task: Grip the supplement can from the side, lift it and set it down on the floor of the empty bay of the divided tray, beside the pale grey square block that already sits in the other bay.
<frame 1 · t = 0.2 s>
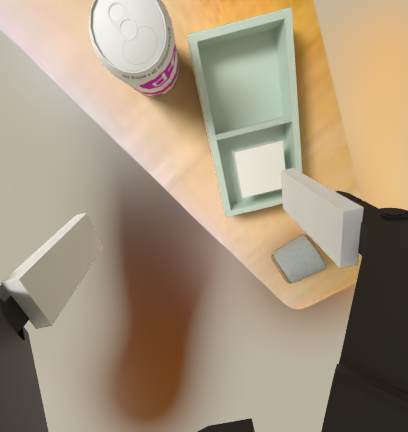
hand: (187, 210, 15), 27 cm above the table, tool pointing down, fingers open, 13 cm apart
divided tray: (247, 127, 39), on the table
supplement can: (152, 67, 35), on the table
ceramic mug: (292, 253, 50), on the table
pale grey square block: (253, 165, 41), point 1 cm above the table, touching divided tray
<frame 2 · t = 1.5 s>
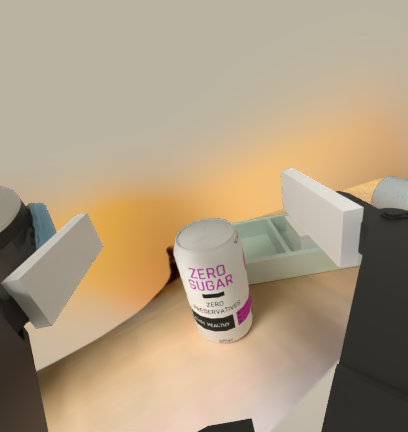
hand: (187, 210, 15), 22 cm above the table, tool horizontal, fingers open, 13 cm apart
divided tray: (278, 252, 44), on the table
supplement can: (224, 321, 33), on the table
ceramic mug: (402, 213, 48), on the table
pale grey square block: (312, 243, 43), point 1 cm above the table, touching divided tray
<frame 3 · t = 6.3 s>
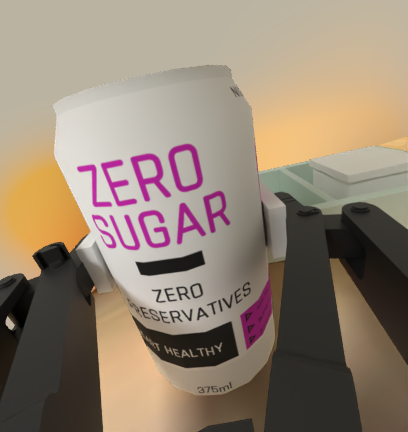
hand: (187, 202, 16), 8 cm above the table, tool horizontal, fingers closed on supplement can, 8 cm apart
divided tray: (302, 217, 27), on the table
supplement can: (214, 335, 16), on the table, touching gripper
pale grey square block: (357, 199, 26), point 1 cm above the table, touching divided tray
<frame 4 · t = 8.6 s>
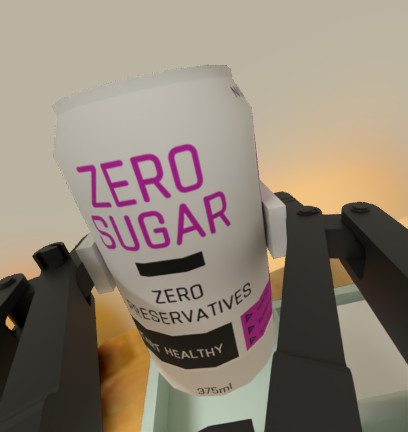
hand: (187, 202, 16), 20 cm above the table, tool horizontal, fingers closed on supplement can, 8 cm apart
divided tray: (297, 391, 22), on the table
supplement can: (214, 335, 16), point 12 cm above the table, touching gripper
pale grey square block: (364, 372, 21), point 1 cm above the table, touching divided tray
when the fingers open (10 cm above the table, at t = 11.4 s): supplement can drops 2 cm, resting on divided tray.
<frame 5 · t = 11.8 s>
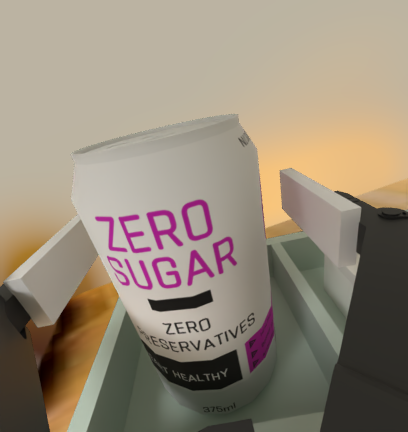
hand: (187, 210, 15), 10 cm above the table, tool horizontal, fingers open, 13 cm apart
divided tray: (307, 338, 16), on the table
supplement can: (218, 351, 16), point 1 cm above the table, touching divided tray
pale grey square block: (400, 314, 16), point 1 cm above the table, touching divided tray
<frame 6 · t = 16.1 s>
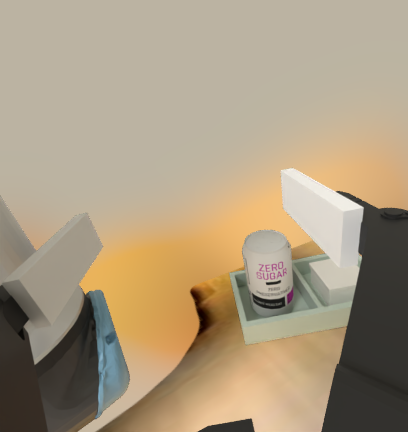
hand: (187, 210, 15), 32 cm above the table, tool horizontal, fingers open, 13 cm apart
divided tray: (304, 299, 45), on the table
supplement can: (271, 304, 45), point 1 cm above the table, touching divided tray
pale grey square block: (337, 290, 44), point 1 cm above the table, touching divided tray
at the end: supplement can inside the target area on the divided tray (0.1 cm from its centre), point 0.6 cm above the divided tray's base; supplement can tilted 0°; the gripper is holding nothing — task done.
